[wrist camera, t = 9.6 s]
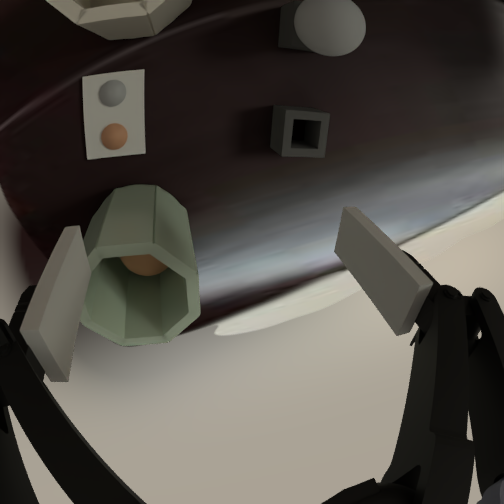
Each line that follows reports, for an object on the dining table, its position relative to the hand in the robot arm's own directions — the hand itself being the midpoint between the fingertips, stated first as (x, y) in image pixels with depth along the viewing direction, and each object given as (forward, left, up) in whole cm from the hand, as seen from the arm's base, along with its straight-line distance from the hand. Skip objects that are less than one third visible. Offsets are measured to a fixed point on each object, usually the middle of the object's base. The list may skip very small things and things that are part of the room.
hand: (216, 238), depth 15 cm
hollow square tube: (-3, +9, -13) cm, 16 cm away
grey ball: (-12, +9, -10) cm, 18 cm away
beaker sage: (+6, -5, -13) cm, 15 cm away
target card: (-5, -6, -13) cm, 15 cm away
